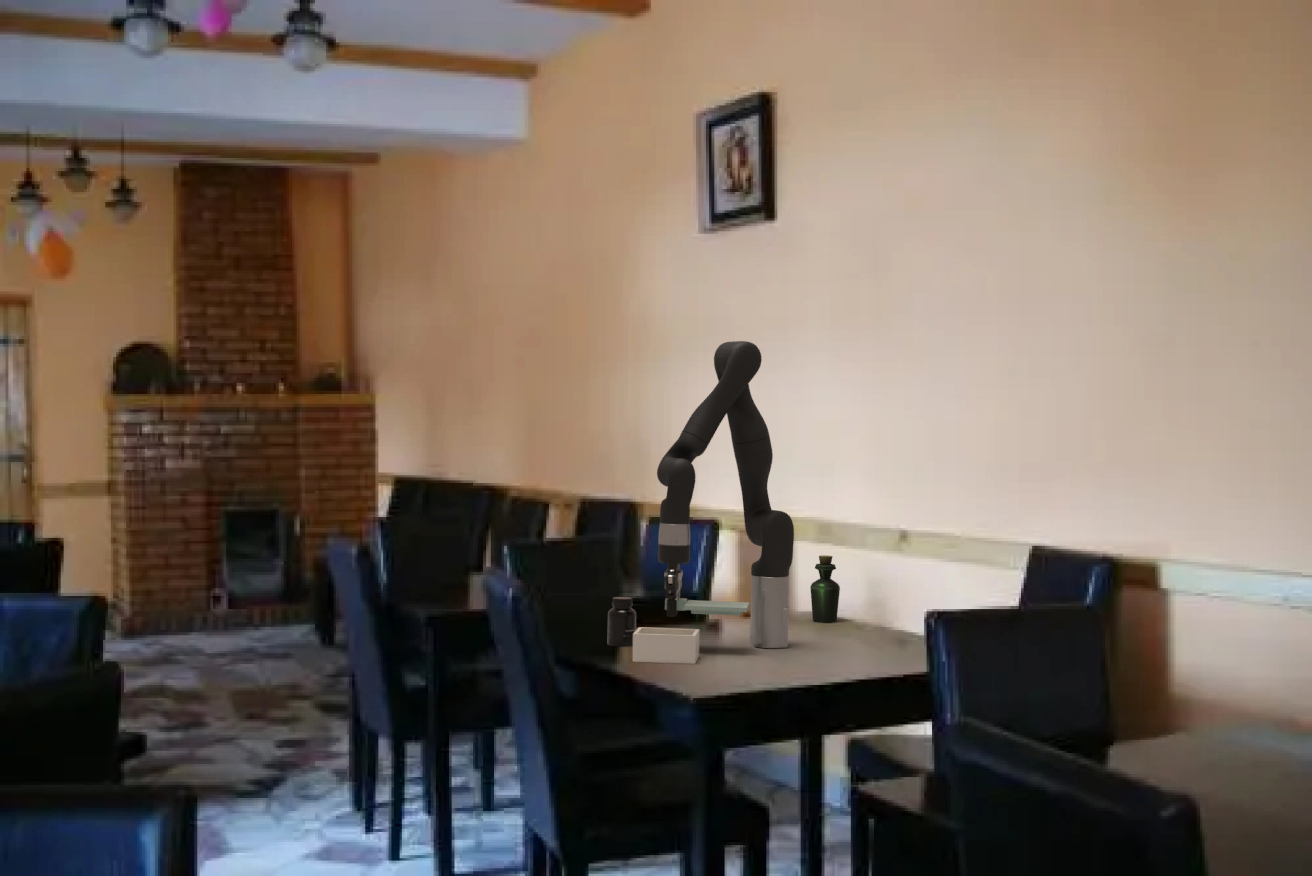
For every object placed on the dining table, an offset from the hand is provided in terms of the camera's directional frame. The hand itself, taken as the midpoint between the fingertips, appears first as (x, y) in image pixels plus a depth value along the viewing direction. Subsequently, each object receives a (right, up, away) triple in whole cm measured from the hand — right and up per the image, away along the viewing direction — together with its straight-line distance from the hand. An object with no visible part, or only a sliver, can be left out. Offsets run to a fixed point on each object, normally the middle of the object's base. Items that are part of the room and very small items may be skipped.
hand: (672, 614), depth 326 cm
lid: (+8, +1, -1) cm, 8 cm away
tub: (-2, -9, -13) cm, 16 cm away
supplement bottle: (-12, -9, +7) cm, 17 cm away
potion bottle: (+43, -9, +55) cm, 70 cm away
